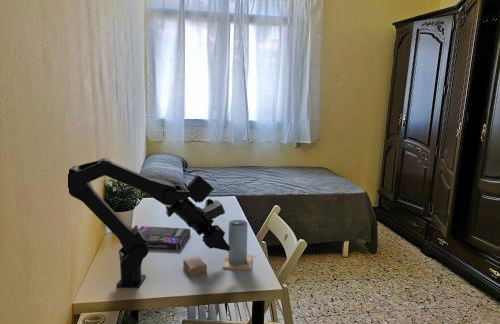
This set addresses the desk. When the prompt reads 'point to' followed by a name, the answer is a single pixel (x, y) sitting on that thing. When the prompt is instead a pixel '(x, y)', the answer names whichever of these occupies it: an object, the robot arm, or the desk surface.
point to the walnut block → (195, 266)
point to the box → (165, 237)
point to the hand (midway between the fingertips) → (224, 243)
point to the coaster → (245, 266)
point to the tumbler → (237, 242)
